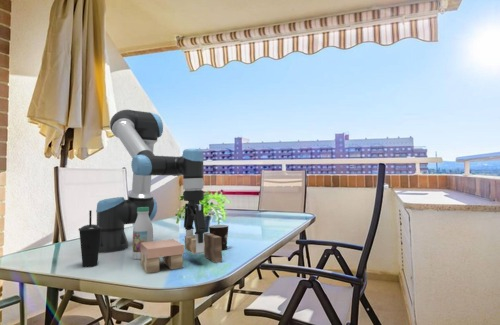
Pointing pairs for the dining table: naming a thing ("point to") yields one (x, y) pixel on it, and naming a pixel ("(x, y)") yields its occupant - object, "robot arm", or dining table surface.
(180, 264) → the block
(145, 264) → the batten rear
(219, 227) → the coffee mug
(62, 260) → the dining table surface
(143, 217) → the milk bottle
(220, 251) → the brown wooden board
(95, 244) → the drinking cup
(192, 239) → the batten
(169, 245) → the slab
